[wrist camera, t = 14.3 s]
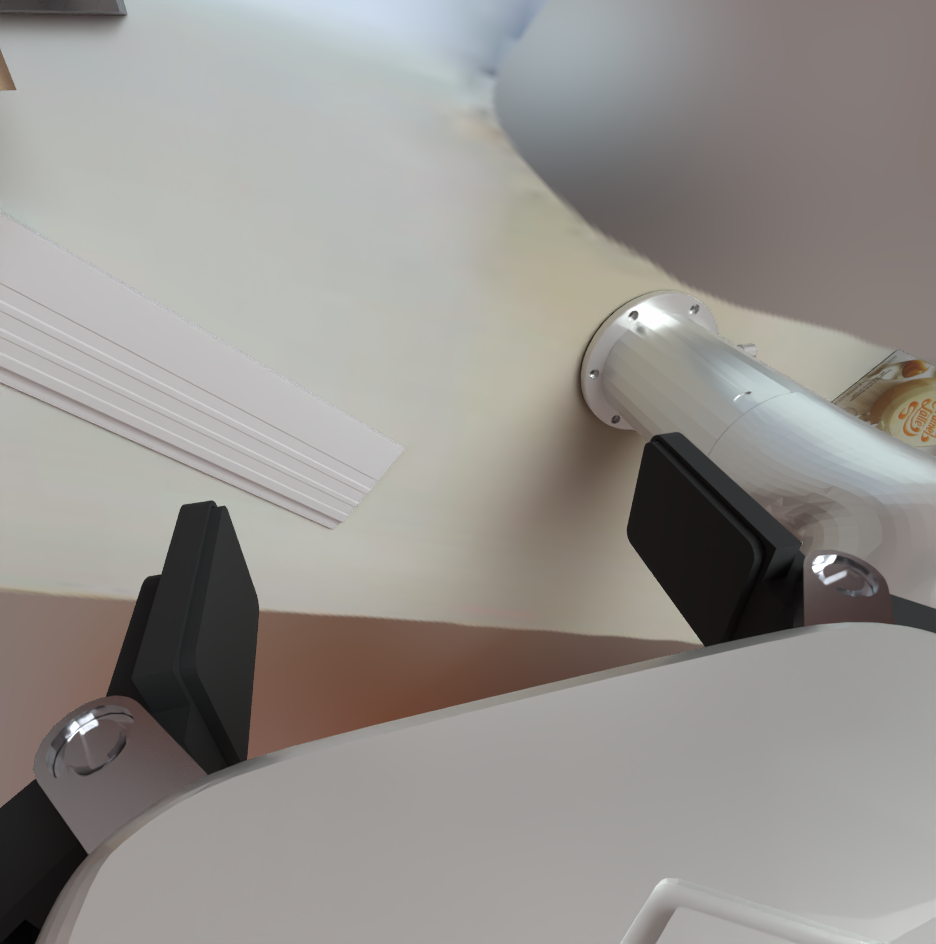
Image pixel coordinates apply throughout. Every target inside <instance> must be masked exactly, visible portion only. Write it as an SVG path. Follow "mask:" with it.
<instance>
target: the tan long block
mask: <svg viewBox="0 0 936 944" xmlns="http://www.w3.org/2000/svg"><path fill="white" fill-rule="evenodd" d="M0 90H16V88H15V85H14V83H13V80H12V78H11V75H10V73H9V70H8V68H7V65H6V63H5V60H4V58H3V55H2V53H1V50H0Z"/></svg>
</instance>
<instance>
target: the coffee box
mask: <svg viewBox="0 0 936 944" xmlns="http://www.w3.org/2000/svg"><path fill="white" fill-rule="evenodd" d="M832 403H833V404H834V405H836V406H838V407H839V408H841V409H843V410H844V411H846V412H848V413H850V414H852V415H853V416H855V417H857V418H859V419H861V420H863V421H864V422H866V423H868V424H870V425H872V426H874V427H876V428H877V429H879V430H881V431H883V432H885V433H887V434H889V435H890V436H892V437H895V438H897V439H899V440H901V441H903V442H906V443H908V444H910V445H912V446H914V447H917V448H919V449H921V450H923V451H925V452H928V453H930V454H932V455H934V456H936V366H934V365H932V364H930V363H927V362H925V361H923V360H920V359H918V358H916V357H914V356H912V355H910V354H908V353H905V352H904V351H902V350H897V351H896V352H895V353H893V354H892V355H891V356H890V357H888V358H887V359H886V360H884V361H883V362H882V363H881V364H879V365H878V366H877V367H876V368H874V369H873V370H872V371H871V372H869V373H868V374H867V375H866V376H864V377H863V378H862V379H861V380H859V381H858V382H857V383H856V384H854V385H853V386H852V387H850V388H849V389H848V390H847V391H845V392H844V393H843V394H842V395H840V396H839V397H838V398H837V399H835V400H834V401H833V402H832Z"/></svg>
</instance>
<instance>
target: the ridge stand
mask: <svg viewBox="0 0 936 944" xmlns="http://www.w3.org/2000/svg"><path fill="white" fill-rule="evenodd" d="M0 13H26V14H96V15H127V12H126V8H125V5H124V1H123V0H0Z"/></svg>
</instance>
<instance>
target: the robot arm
mask: <svg viewBox="0 0 936 944" xmlns="http://www.w3.org/2000/svg"><path fill="white" fill-rule="evenodd" d="M756 355H757V347H756V345H755V344H752V343H750V344H741V345H737V346H736V345H735V344H733V343H731V342H730V341H728V340H726V339H725V338H723V337H721V336H720V335H719V329H718V325H717V322H716V319H715V317H714V316H713V314H712V312H711V310H710V309H709V308H708V307H707V306H706V305H705V304H704V303H703V302H701V301H700V300H698V299H696V298H695V297H693V296H691V295H688V294H686V293H683V292H679V291H671V290H666V291H655V292H652V293H649V294H645V295H642V296H640V297H638V298H636V299H634V300H632V301H630V302H628V303H626V304H625V305H624V306H622V307H621V308H619V309H618V310H617V311H615V312H614V313H613V314H612V315H611V316H610V317H609V318H608V319H607V320H606V321H605V322H604V323H603V325H602V326H601V327H600V329H599V330H598V331H597V333H596V334H595V335H594V337H593V339H592V341H591V343H590V345H589V346H588V348H587V351H586V354H585V357H584V360H583V364H582V370H581V388H582V392H583V397H584V399H585V401H586V403H587V405H588V407H589V408H590V409H591V411H592V412H593V413H594V414H595V415H596V416H597V417H598V418H599V419H600V420H601V421H602V422H604V423H605V424H607V425H609V426H611V427H614V428H618V429H622V430H636V431H637V433H638V434H639V435H640V436H641V437H642V438H643V439H644V440H645V441H646V442H647V443H646V445H645V447H644V451H643V456H642V460H641V465H640V470H639V474H638V479H637V484H636V488H635V493H634V498H633V502H632V507H631V512H630V516H629V521H628V526H627V536H628V539H629V541H630V543H631V545H632V546H633V547H634V549H635V550H636V552H637V553H638V554H639V556H640V557H641V559H642V560H643V561H644V563H645V564H646V565H647V567H648V568H649V570H650V571H651V572H652V574H653V575H654V577H655V578H656V579H657V581H658V582H659V584H660V585H661V586H662V588H663V589H664V590H665V592H666V593H667V595H668V596H669V597H670V599H671V600H672V602H673V603H674V604H675V606H676V607H677V608H678V610H679V611H680V613H681V614H682V615H683V617H684V618H685V620H686V621H687V622H688V624H689V625H690V626H691V628H692V629H693V631H694V632H695V633H696V635H697V636H698V638H699V639H700V640H701V642H702V643H703V645H704V646H705V647H703V648H700V649H695V650H690V651H686V652H682V653H677V654H674V655H669V656H664V657H660V658H656V659H651V660H647V661H643V662H638V663H634V664H630V665H625V666H621V667H617V668H612V669H608V670H604V671H600V672H595V673H592V674H587V675H583V676H578V677H574V678H570V679H566V680H562V681H557V682H553V683H549V684H545V685H540V686H536V687H532V688H527V689H524V690H519V691H515V692H511V693H507V694H502V695H498V696H494V697H489V698H486V699H482V700H478V701H473V702H469V703H465V704H461V705H456V706H452V707H448V708H444V709H440V710H436V711H432V712H427V713H423V714H419V715H415V716H411V717H407V718H402V719H398V720H394V721H390V722H386V723H382V724H378V725H373V726H370V727H366V728H362V729H358V730H354V731H350V732H346V733H342V734H339V735H335V736H331V737H327V738H323V739H319V740H315V741H311V742H307V743H304V744H300V745H296V746H292V747H288V748H285V749H282V750H279V751H275V752H272V753H269V754H265V755H262V756H259V757H255V758H253V759H249V760H247V753H248V741H249V729H250V716H251V705H252V704H251V703H252V692H253V680H254V668H255V656H256V644H257V632H258V618H259V604H258V598H257V594H256V591H255V588H254V585H253V583H252V580H251V577H250V574H249V571H248V568H247V565H246V562H245V559H244V556H243V553H242V550H241V547H240V544H239V542H238V539H237V536H236V533H235V530H234V527H233V524H232V521H231V518H230V515H229V512H228V510H227V508H226V506H220V507H217V505H216V503H215V502H214V501H205V502H199V503H192V504H185V505H183V506H182V507H181V509H180V512H179V515H178V519H177V522H176V526H175V529H174V533H173V536H172V540H171V543H170V546H169V550H168V553H167V557H166V560H165V564H164V567H163V571H162V574H161V575H155V576H149V577H147V578H146V579H145V580H144V582H143V584H142V586H141V590H140V593H139V596H138V599H137V602H136V605H135V608H134V612H133V615H132V618H131V621H130V624H129V627H128V630H127V633H126V636H125V639H124V642H123V646H122V649H121V652H120V655H119V658H118V661H117V664H116V667H115V670H114V673H113V676H112V680H111V683H110V686H109V689H108V692H107V695H106V697H103V698H99V699H96V700H94V701H91V702H88V703H86V704H84V705H82V706H80V707H79V708H77V709H75V710H74V711H72V712H70V713H69V714H67V715H66V716H65V717H64V718H63V719H62V720H60V721H59V722H58V723H57V724H56V725H55V726H54V727H53V728H52V729H51V730H50V732H49V733H48V734H47V735H46V737H45V738H44V739H43V740H42V742H41V744H40V746H39V749H38V751H37V753H36V755H35V760H34V767H33V771H34V774H35V777H36V779H35V780H33V781H32V782H31V783H30V784H29V785H27V786H26V787H25V788H24V789H23V790H22V791H20V792H19V793H18V794H17V795H15V796H14V797H13V798H12V799H11V800H10V801H8V802H7V803H6V804H5V805H3V806H2V807H1V808H0V944H936V456H934V455H932V454H930V453H928V452H925V451H923V450H921V449H919V448H917V447H914V446H912V445H910V444H908V443H906V442H903V441H901V440H899V439H897V438H895V437H892V436H890V435H889V434H887V433H885V432H883V431H881V430H879V429H877V428H876V427H874V426H872V425H870V424H868V423H866V422H864V421H863V420H861V419H859V418H857V417H855V416H853V415H852V414H850V413H848V412H846V411H844V410H843V409H841V408H839V407H838V406H836V405H834V404H833V403H831V402H829V401H827V400H826V399H824V398H822V397H821V396H819V395H817V394H815V393H814V392H812V391H810V390H809V389H807V388H805V387H804V386H802V385H800V384H799V383H797V382H795V381H794V380H792V379H790V378H789V377H787V376H785V375H783V374H782V373H780V372H778V371H777V370H775V369H773V368H772V367H770V366H768V365H767V364H765V363H763V362H762V361H760V360H758V359H757V358H755V357H756ZM802 542H803V544H802Z"/></svg>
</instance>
